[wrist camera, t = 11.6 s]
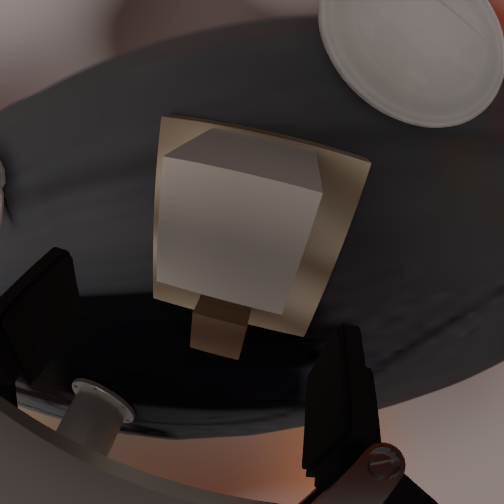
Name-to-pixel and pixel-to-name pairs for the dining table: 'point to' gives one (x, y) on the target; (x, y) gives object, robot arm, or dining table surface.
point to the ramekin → (417, 56)
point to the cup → (0, 184)
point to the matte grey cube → (236, 217)
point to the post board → (313, 260)
